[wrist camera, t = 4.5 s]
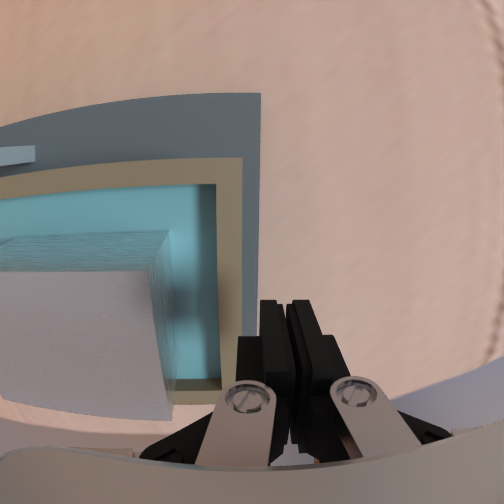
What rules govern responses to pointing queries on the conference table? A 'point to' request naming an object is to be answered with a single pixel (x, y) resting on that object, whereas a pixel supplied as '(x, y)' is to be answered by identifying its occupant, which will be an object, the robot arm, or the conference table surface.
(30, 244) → the steel block
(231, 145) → the stand
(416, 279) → the conference table surface
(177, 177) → the beam
